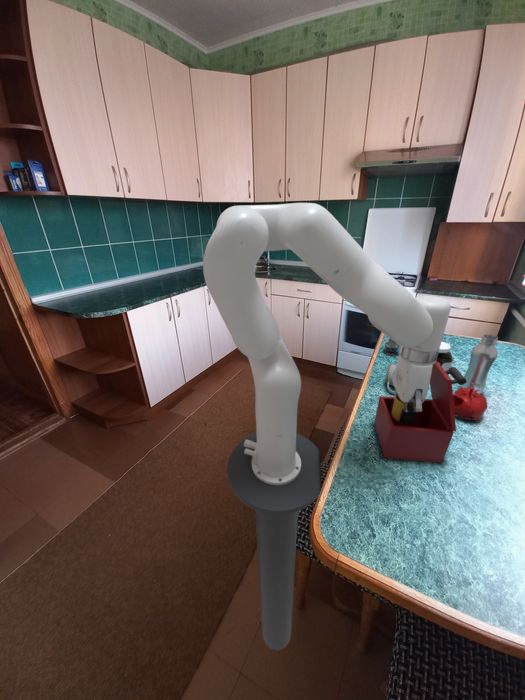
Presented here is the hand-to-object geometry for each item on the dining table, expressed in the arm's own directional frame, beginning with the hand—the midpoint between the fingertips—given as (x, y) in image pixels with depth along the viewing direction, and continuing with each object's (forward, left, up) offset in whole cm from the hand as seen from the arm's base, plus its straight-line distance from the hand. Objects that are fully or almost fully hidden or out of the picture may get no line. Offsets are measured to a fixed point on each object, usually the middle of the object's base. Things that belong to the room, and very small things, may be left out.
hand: (402, 414), depth 73 cm
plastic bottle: (+22, +33, -9) cm, 41 cm away
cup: (0, 0, 0) cm, 0 cm away
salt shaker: (-3, +53, -9) cm, 53 cm away
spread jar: (+12, +43, -9) cm, 45 cm away
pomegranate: (+18, +20, -9) cm, 28 cm away
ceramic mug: (0, +27, -9) cm, 28 cm away
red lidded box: (+2, +1, -9) cm, 9 cm away
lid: (+6, +2, +8) cm, 10 cm away
